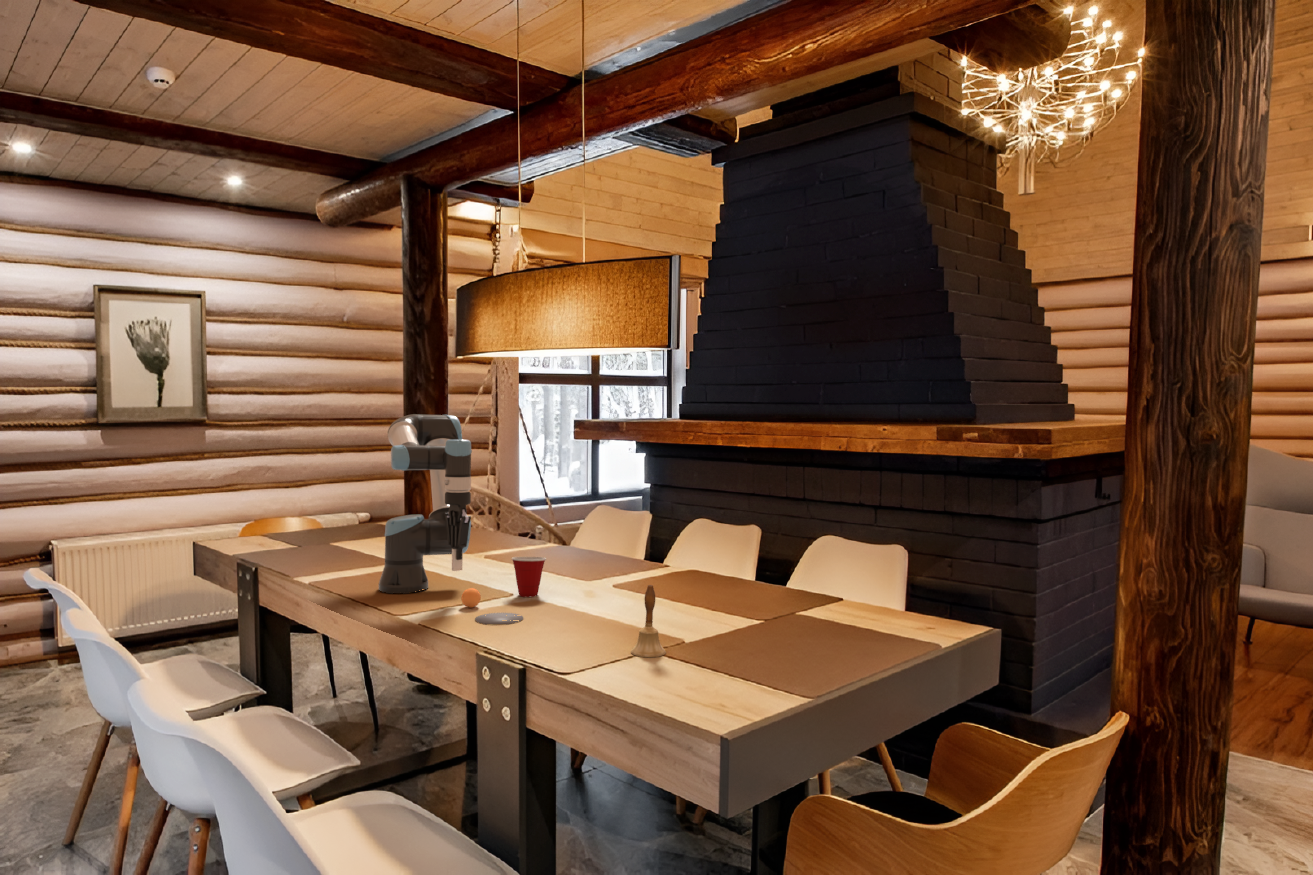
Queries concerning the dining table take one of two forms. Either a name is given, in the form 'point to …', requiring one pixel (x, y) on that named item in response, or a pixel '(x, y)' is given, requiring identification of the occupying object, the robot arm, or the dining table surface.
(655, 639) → the hand bell
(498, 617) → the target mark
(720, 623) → the dining table surface
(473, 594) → the ball
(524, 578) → the plastic cup
